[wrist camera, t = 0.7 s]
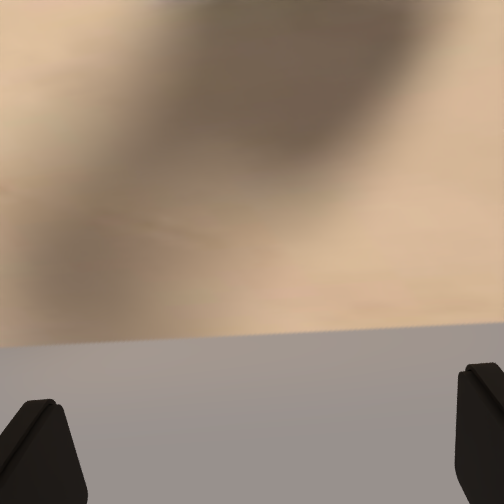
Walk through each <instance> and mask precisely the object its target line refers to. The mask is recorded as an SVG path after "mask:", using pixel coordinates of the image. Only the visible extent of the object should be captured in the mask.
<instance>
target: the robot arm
mask: <svg viewBox="0 0 504 504" xmlns="http://www.w3.org/2000/svg"><path fill="white" fill-rule="evenodd" d="M455 471H456V475H457V478H458V481H459V483H460V485H461V487H462V489H463V491H464V493H465V495H466V497H467V499H468V501H469V503H470V504H504V372H503V371H502V370H501V369H500V367H499V366H498V365H497V364H496V363H493V362H492V363H480V364H469V365H467V367H466V370H465V371H463V372H459V375H458V393H457V419H456V442H455ZM87 498H88V491H87V487H86V483H85V480H84V477H83V473H82V470H81V467H80V463H79V460H78V457H77V453H76V450H75V447H74V443H73V440H72V436H71V433H70V430H69V426H68V423H67V420H66V416H65V413H64V410H63V408H62V406H61V405H59V404H58V405H56V402H55V401H54V400H52V399H44V400H31V401H27V402H25V403H24V404H23V406H22V407H21V408H20V410H19V411H18V412H17V413H16V415H15V416H14V417H13V419H12V420H11V421H10V423H9V424H8V425H7V427H6V428H5V429H4V431H3V432H2V434H1V435H0V504H87V500H88V499H87Z"/></svg>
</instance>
